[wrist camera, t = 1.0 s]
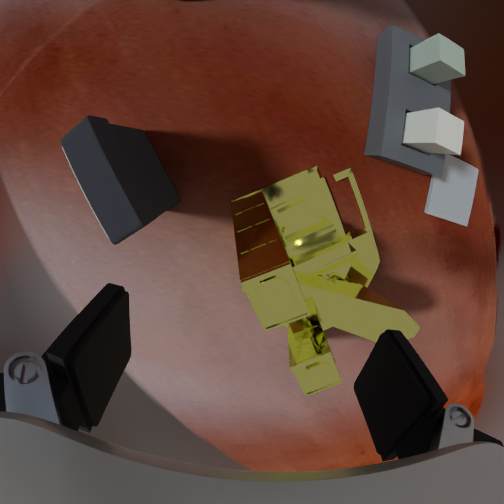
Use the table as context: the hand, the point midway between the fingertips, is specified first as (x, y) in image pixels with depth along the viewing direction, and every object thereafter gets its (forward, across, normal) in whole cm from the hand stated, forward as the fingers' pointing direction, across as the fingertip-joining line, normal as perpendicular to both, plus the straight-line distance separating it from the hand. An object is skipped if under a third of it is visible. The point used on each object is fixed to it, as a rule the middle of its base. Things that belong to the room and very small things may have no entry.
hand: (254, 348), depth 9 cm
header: (+27, -18, -20) cm, 38 cm away
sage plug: (+26, -18, -25) cm, 40 cm away
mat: (+27, -30, -10) cm, 42 cm away
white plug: (+26, -18, -15) cm, 35 cm away
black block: (+28, +14, -2) cm, 31 cm away
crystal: (+28, -10, +5) cm, 30 cm away
